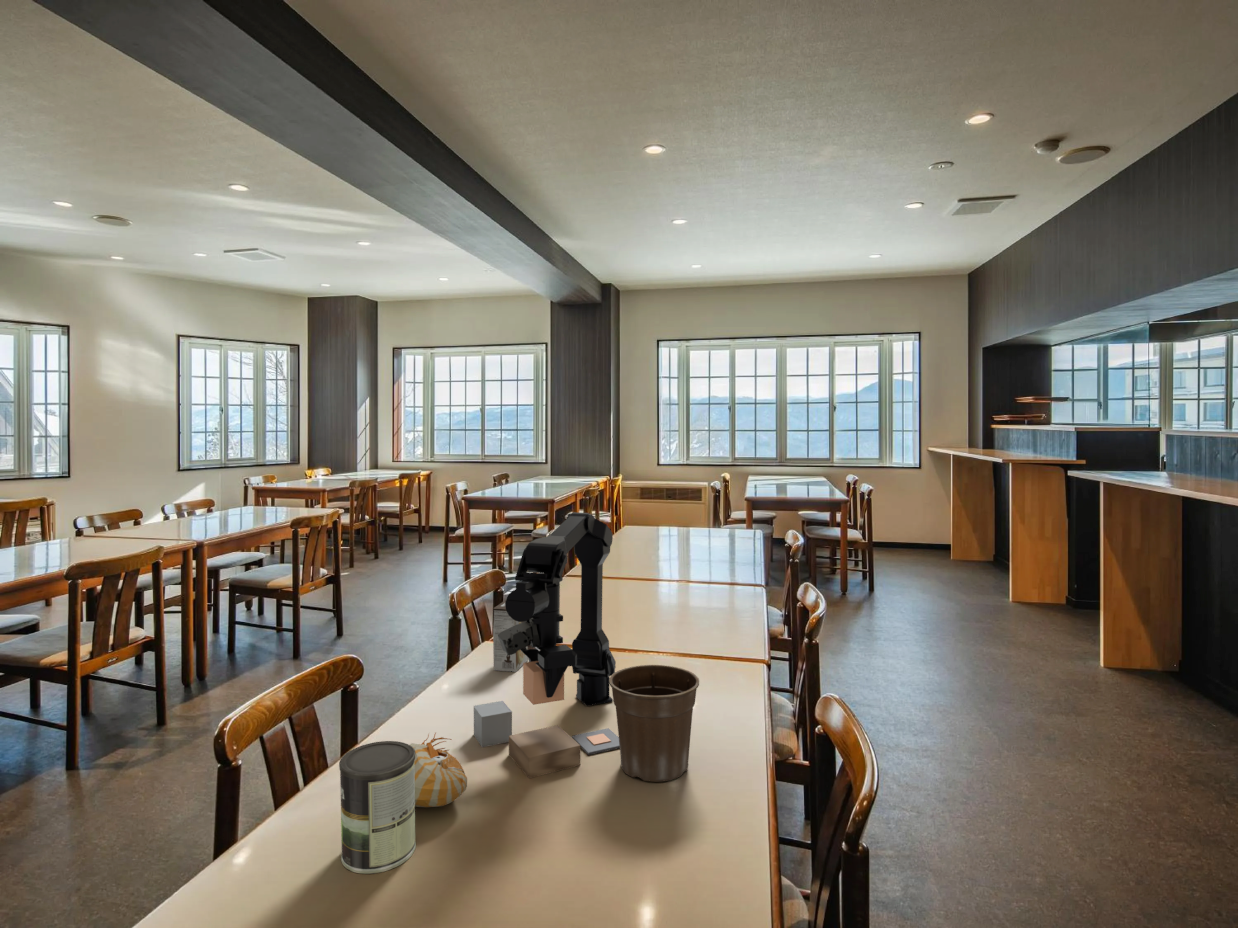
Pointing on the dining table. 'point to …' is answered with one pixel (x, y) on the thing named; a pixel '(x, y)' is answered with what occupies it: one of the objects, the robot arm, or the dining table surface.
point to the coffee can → (377, 806)
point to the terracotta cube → (538, 685)
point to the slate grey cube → (492, 723)
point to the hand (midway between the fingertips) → (543, 691)
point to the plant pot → (654, 719)
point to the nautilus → (436, 775)
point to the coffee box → (500, 657)
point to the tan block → (544, 751)
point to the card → (597, 741)
